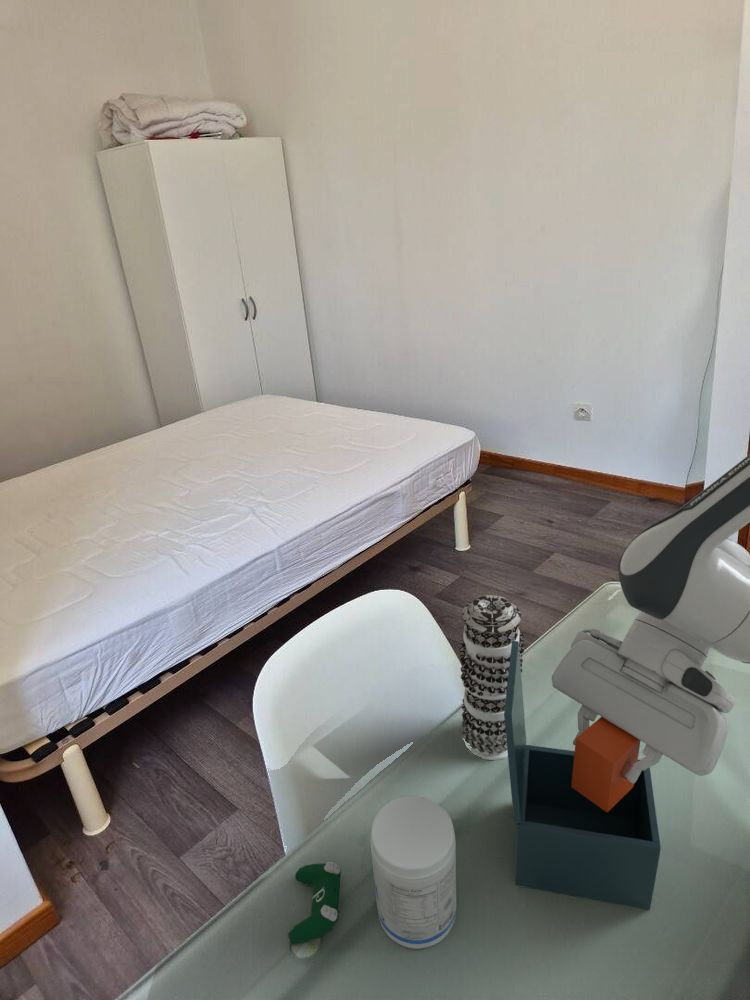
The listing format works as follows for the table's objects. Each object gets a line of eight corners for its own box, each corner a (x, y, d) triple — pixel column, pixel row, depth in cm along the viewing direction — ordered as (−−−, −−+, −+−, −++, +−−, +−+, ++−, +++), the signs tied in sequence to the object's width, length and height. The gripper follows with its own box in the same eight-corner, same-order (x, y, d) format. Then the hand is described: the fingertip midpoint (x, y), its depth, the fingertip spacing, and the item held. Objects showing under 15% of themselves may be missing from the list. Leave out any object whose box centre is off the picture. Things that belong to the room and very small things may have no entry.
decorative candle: (532, 737, 106) (539, 602, 95) (496, 772, 100) (498, 634, 89) (485, 708, 112) (486, 579, 101) (448, 740, 106) (445, 607, 95)
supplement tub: (377, 875, 87) (369, 794, 80) (452, 873, 87) (450, 790, 80) (377, 955, 78) (368, 870, 72) (461, 952, 78) (459, 867, 71)
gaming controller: (309, 957, 80) (343, 933, 78) (284, 943, 79) (317, 919, 77) (316, 882, 88) (346, 859, 86) (293, 869, 87) (323, 846, 85)
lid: (518, 641, 83) (511, 640, 84) (511, 714, 73) (503, 714, 73) (526, 741, 90) (520, 741, 91) (521, 823, 79) (514, 822, 80)
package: (633, 786, 83) (641, 737, 79) (607, 812, 80) (613, 763, 76) (597, 762, 86) (603, 714, 83) (571, 786, 83) (575, 738, 80)
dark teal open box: (640, 819, 92) (648, 760, 87) (650, 910, 81) (660, 848, 76) (520, 801, 95) (523, 744, 91) (515, 885, 85) (517, 825, 80)
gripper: (574, 615, 87) (521, 712, 86) (737, 698, 72) (676, 815, 71) (592, 628, 91) (542, 720, 90) (749, 709, 77) (692, 820, 76)
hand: (602, 763), depth 81 cm, fingers closed on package, 5 cm apart
